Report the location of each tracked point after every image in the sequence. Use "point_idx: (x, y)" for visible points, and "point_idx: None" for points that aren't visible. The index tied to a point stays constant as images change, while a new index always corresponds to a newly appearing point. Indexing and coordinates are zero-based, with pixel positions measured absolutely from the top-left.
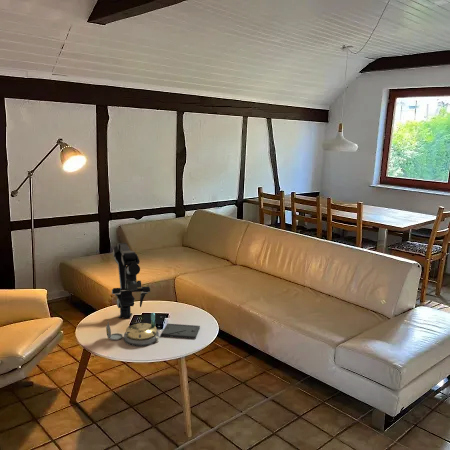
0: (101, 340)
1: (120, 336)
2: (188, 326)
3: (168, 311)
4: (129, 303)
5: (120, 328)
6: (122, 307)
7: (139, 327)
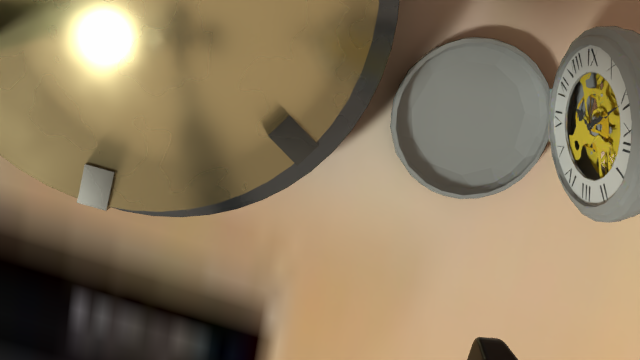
0: None
1: (412, 128)
2: None
3: None
4: None
5: (369, 341)
6: (483, 344)
7: (159, 61)
